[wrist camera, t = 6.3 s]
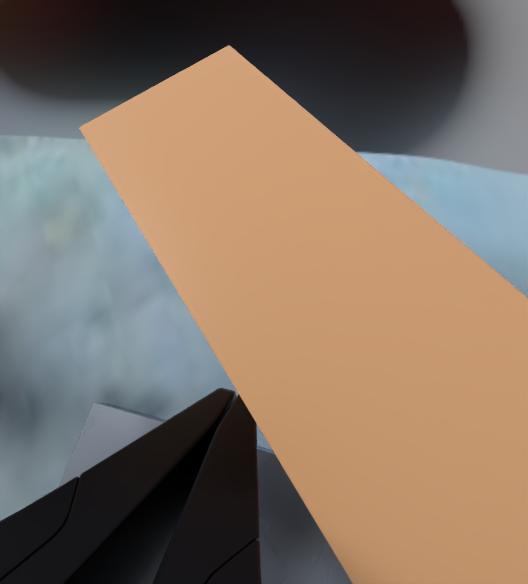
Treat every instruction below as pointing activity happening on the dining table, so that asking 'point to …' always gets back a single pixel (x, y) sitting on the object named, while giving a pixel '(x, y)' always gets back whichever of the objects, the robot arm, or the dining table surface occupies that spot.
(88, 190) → the dining table surface
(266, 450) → the label plate
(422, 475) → the orange wooden beam
